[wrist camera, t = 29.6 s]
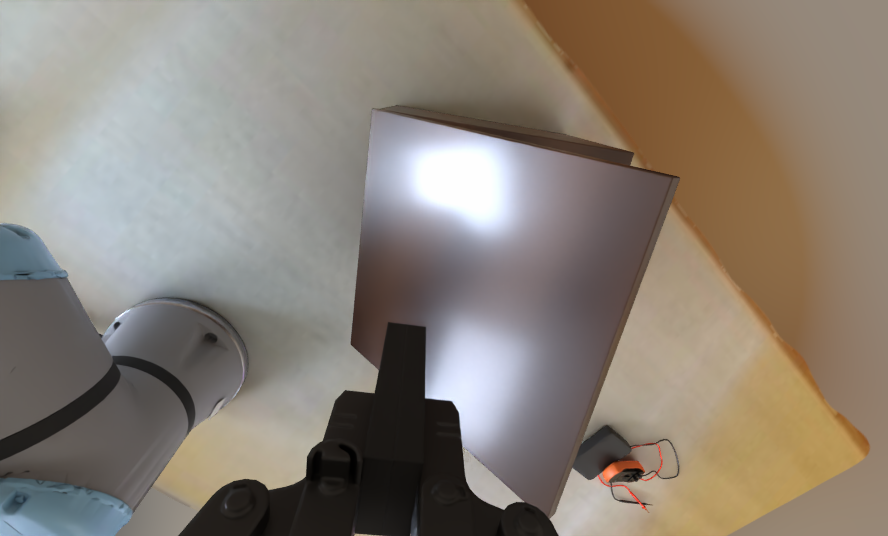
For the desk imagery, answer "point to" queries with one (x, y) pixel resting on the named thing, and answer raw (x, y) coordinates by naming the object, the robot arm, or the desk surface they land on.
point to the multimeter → (611, 460)
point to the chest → (523, 134)
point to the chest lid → (504, 282)
